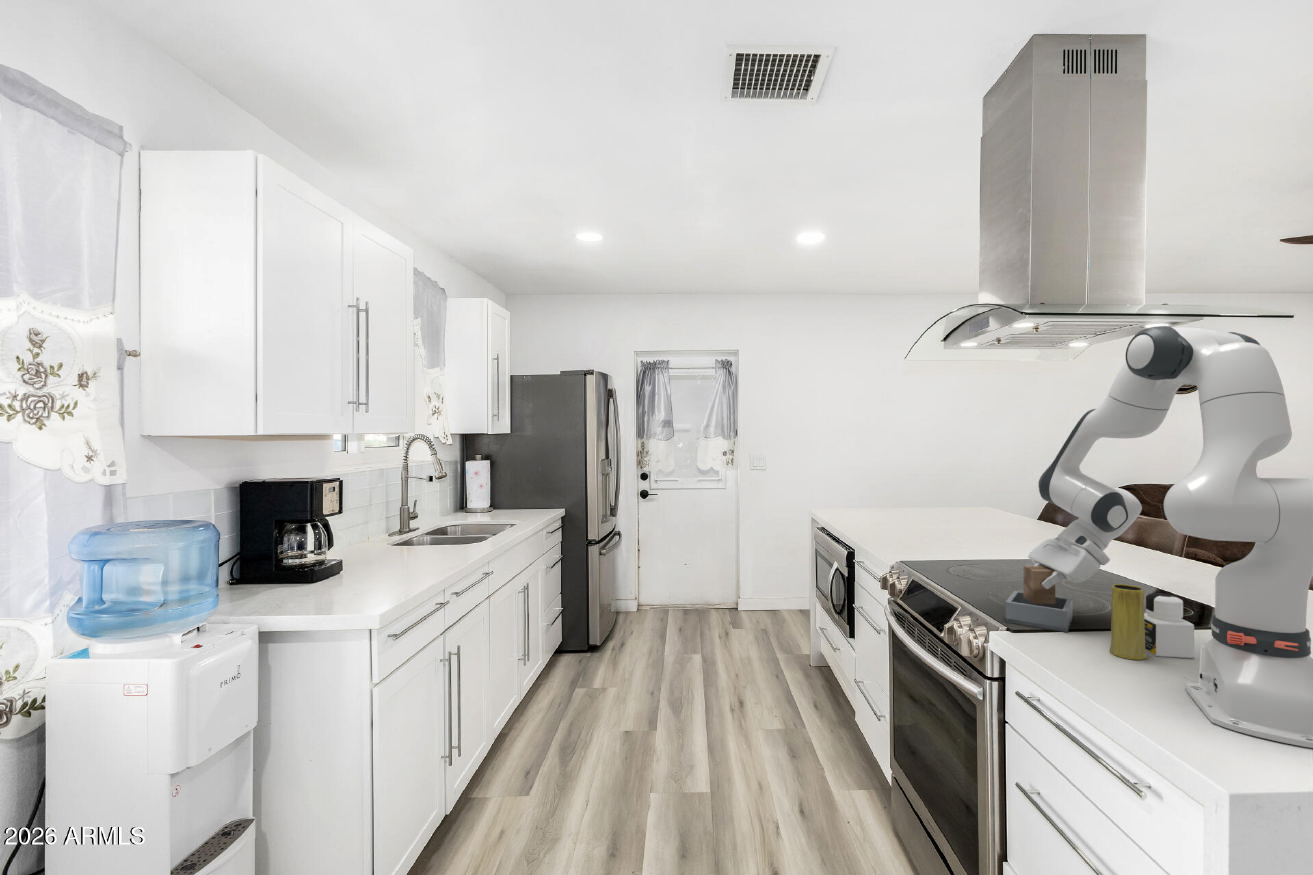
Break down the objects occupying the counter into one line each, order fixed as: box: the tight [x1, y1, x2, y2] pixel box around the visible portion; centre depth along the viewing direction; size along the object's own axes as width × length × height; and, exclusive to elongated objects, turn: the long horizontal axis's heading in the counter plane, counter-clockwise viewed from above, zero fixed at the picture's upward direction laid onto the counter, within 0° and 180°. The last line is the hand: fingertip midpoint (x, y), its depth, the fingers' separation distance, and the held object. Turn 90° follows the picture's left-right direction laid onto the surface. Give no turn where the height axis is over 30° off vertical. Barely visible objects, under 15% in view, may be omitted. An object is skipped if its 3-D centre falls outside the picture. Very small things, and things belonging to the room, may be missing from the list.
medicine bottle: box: [1144, 592, 1195, 659], centre depth 128 cm, size 7×7×12 cm
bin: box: [1005, 590, 1074, 633], centre depth 149 cm, size 13×13×5 cm
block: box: [1022, 565, 1056, 604], centre depth 149 cm, size 5×5×8 cm
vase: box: [1109, 583, 1147, 661], centre depth 126 cm, size 6×6×14 cm
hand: (1036, 582), depth 149 cm, fingers closed on block, 5 cm apart
